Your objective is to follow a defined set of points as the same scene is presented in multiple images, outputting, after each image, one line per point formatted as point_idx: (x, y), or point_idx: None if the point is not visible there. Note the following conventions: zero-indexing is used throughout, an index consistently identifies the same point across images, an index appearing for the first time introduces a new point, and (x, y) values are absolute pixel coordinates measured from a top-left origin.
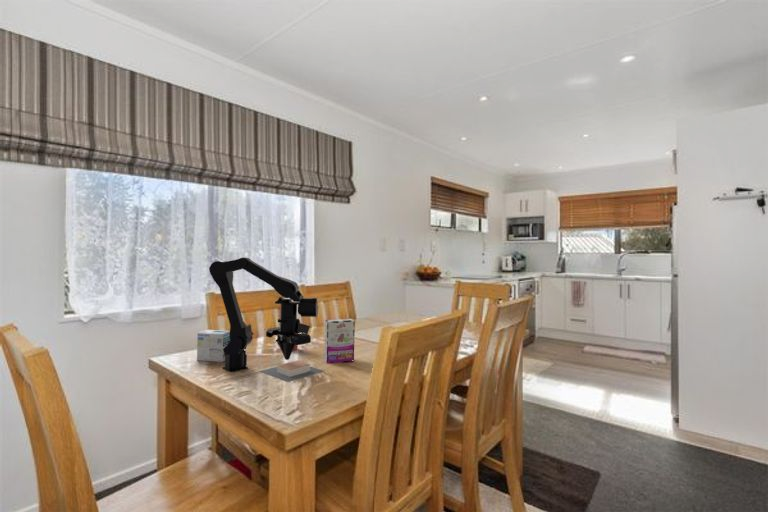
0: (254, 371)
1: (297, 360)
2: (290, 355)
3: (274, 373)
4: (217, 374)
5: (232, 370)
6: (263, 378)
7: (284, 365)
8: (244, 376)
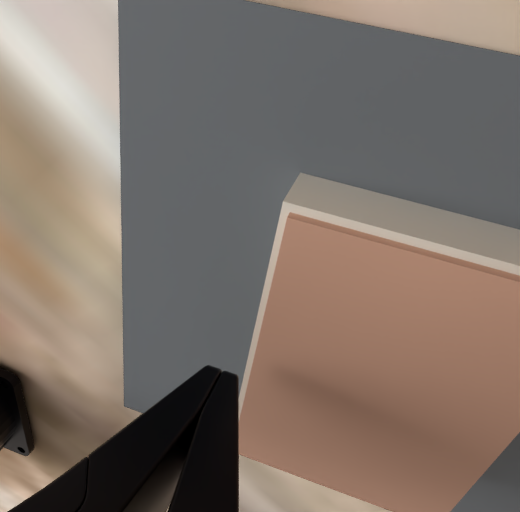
0: (91, 396)
1: (290, 227)
2: (237, 423)
3: None
4: (17, 471)
5: (17, 445)
6: (254, 484)
7: (294, 445)
8: None
